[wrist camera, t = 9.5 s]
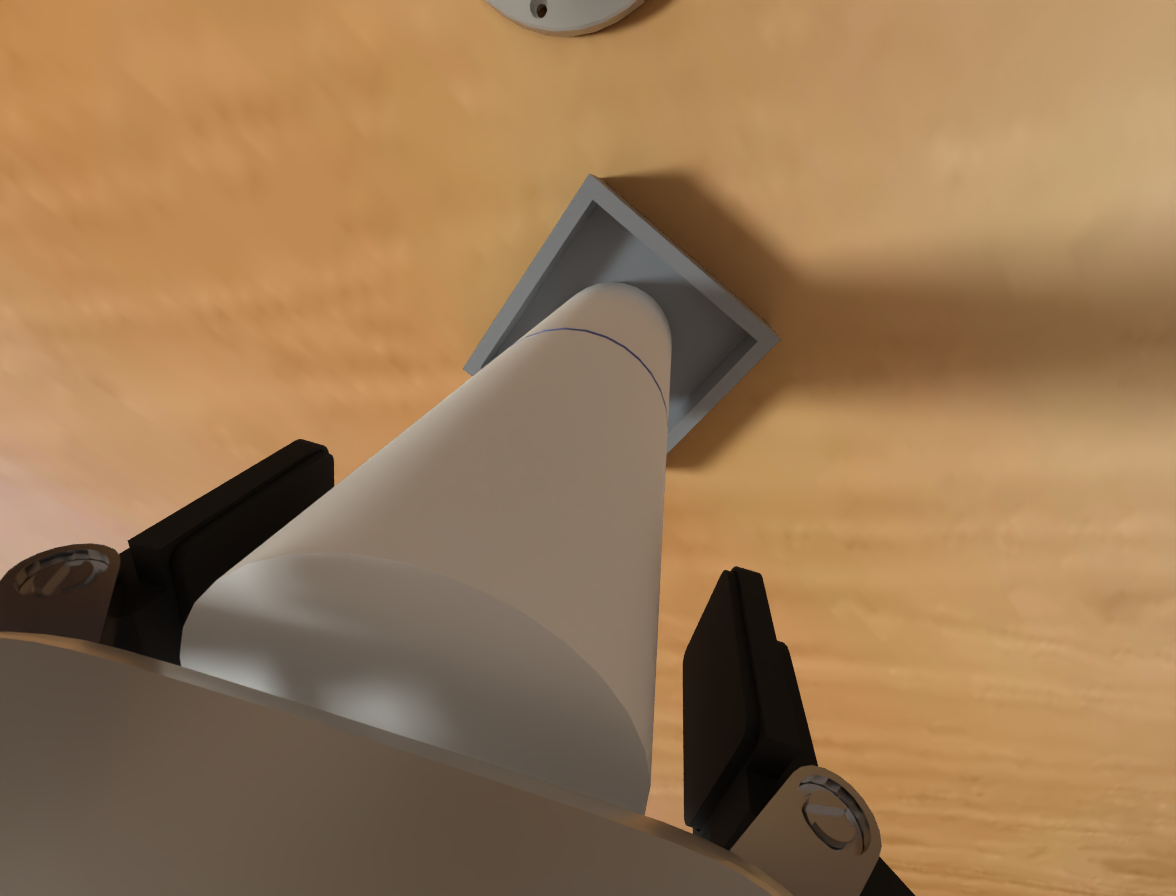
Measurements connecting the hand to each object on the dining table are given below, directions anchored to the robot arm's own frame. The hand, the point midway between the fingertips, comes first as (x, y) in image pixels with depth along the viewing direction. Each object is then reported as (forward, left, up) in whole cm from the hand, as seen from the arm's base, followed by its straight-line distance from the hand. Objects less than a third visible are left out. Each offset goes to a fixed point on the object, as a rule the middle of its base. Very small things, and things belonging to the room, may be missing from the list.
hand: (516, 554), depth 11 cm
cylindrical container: (0, 0, -20) cm, 21 cm away
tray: (0, 0, -21) cm, 21 cm away
